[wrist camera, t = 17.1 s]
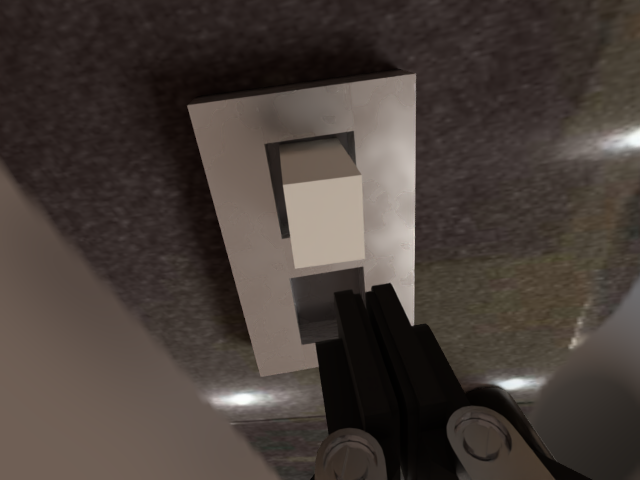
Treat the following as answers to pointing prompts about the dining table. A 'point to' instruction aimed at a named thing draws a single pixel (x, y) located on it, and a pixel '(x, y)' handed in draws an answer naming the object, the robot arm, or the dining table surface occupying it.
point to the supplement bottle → (509, 415)
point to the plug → (322, 202)
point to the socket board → (270, 208)
